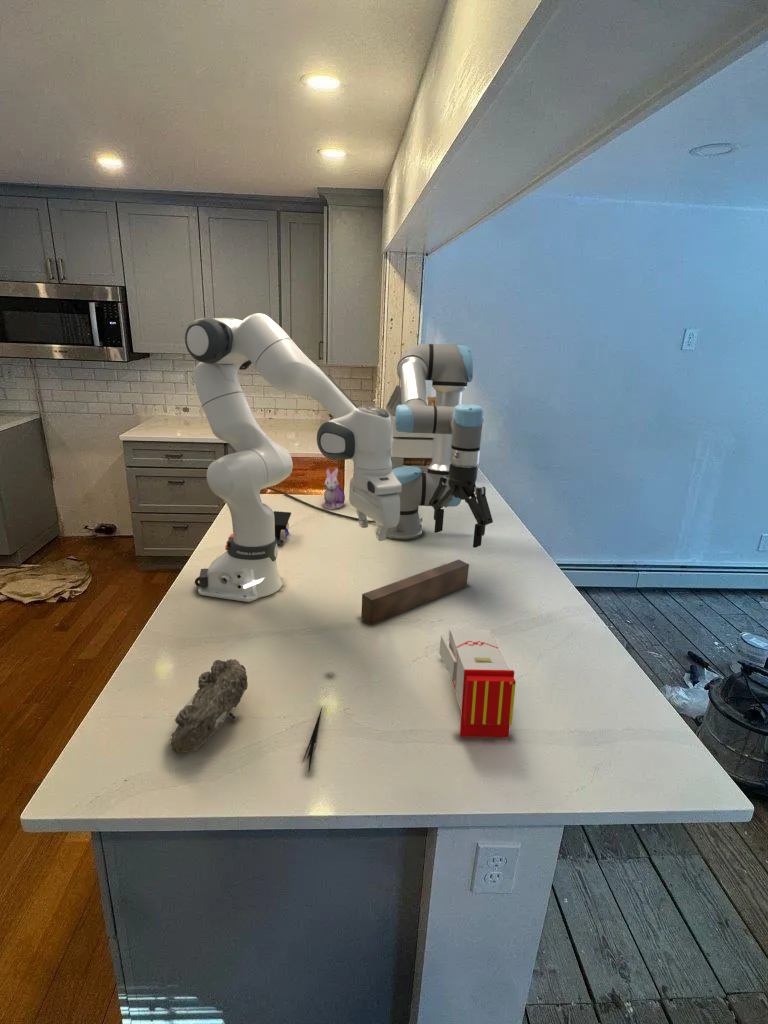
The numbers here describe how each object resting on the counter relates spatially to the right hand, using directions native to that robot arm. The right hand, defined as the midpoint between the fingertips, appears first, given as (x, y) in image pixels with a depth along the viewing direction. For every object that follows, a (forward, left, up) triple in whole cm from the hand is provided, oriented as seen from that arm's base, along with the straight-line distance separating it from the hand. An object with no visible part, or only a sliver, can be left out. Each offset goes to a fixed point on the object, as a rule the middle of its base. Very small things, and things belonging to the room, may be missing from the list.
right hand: (457, 538), depth 157 cm
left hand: (-1, -30, +8) cm, 31 cm away
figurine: (-77, +14, -16) cm, 80 cm away
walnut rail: (-1, -13, -16) cm, 20 cm away
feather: (+22, -61, -16) cm, 67 cm away
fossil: (+9, -76, -16) cm, 78 cm away
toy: (+34, -31, -16) cm, 49 cm away
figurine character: (-60, -21, -16) cm, 65 cm away
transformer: (-93, +76, -16) cm, 121 cm away
